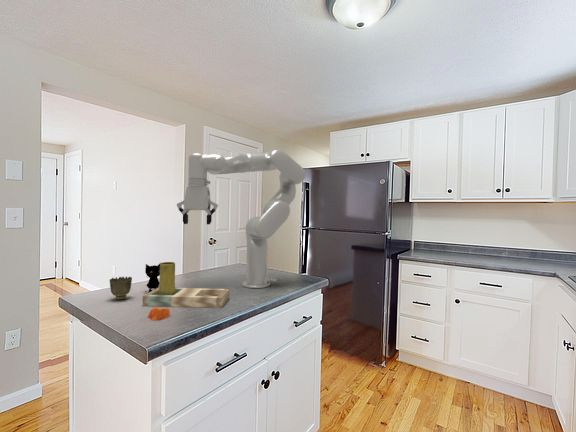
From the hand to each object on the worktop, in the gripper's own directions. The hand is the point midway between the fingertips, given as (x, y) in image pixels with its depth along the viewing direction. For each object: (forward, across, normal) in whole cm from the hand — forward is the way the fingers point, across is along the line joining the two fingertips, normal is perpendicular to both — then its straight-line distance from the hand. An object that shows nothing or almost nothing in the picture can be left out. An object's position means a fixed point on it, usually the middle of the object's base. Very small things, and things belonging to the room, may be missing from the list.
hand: (197, 224), depth 123 cm
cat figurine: (+28, +17, +3) cm, 33 cm away
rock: (+29, +2, +31) cm, 43 cm away
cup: (+28, +24, +14) cm, 40 cm away
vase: (+28, +6, +15) cm, 33 cm away
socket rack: (+28, -2, +15) cm, 32 cm away
